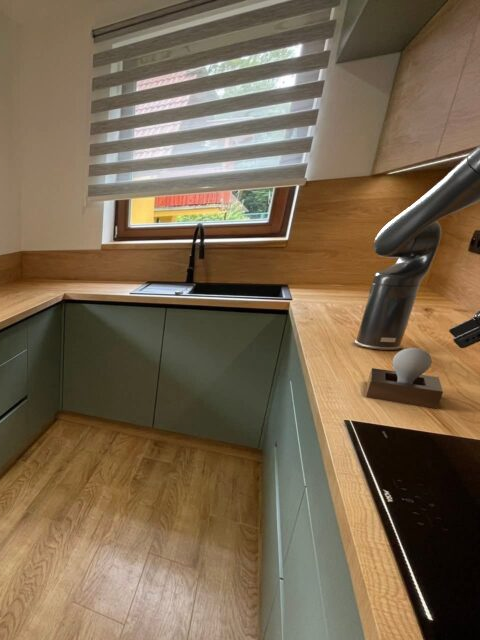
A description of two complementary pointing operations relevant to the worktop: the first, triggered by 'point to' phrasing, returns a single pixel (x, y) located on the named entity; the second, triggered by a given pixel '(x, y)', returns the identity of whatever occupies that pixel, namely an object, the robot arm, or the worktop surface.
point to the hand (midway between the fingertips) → (454, 339)
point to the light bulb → (411, 364)
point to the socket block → (404, 388)
